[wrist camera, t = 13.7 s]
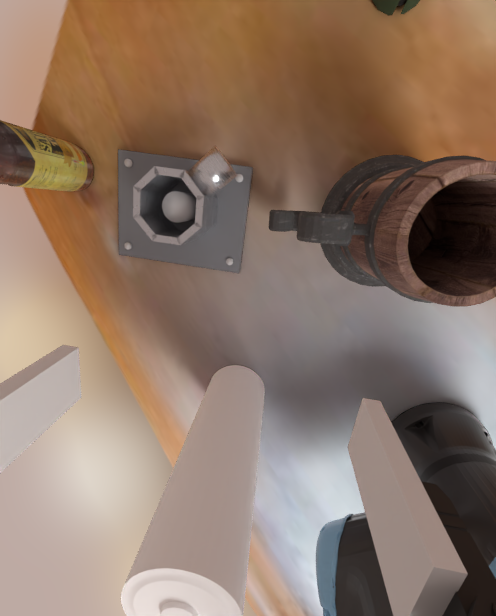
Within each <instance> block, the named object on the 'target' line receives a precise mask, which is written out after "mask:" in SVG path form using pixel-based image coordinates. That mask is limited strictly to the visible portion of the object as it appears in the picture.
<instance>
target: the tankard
mask: <svg viewBox="0 0 496 616" xmlns="http://www.w3.org/2000/svg"><path fill="white" fill-rule="evenodd" d="M269 229H270V230H271V231H284V232H285V231H291V230H293V231H297V239H298V240H300V241H305V242H313V243H321V247H322V249H323V252H324V254H325V257H326V258H327V260H328V261H329V263H330V264H331V266H332V267H333V268H334V269H335V270H336V271H337V272H338V273H339V274H341V275H342V276H344V277H345V278H347V279H349V280H350V281H353V282H356V283H358V284H361V285H367V286H387V287H388V288H390V289H391V290H393V291H395V292H396V293H398V294H400V295H401V296H404V297H406V298H409V299H412V300H414V301H420V302H426V303H437V304H442V305H448V306H471V305H476V304H481V303H483V302H485V301H488V300H490V299H492V298H494V297H496V161H486V160H484V159H481V158H477V157H470V156H450V157H444V158H440V159H436V160H432V161H428V162H423V161H420V160H417V159H415V158H412V157H409V156H402V155H386V156H380V157H376V158H372V159H369V160H367V161H365V162H363V163H361V164H359V165H357V166H355V167H354V168H352V169H351V170H350V171H348V172H347V173H346V174H344V175H343V177H342V178H341V179H340V180H339V181H338V182H337V183H336V184H335V185H334V187H333V188H332V190H331V191H330V193H329V194H328V196H327V198H326V201H325V203H324V205H323V208H322V212H321V213H319V212H306V211H286V210H271V211H270V218H269Z"/></svg>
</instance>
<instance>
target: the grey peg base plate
mask: <svg viewBox="0 0 496 616" xmlns="http://www.w3.org/2000/svg"><path fill="white" fill-rule="evenodd" d="M198 161H199V160H194V159H187V158H179V157H172V156H164V155H157V154H149V153H142V152H134V151H127V150H119V149H118V211H119V255H124V256H131V257H137V258H144V259H150V260H157V261H163V262H169V263H176V264H182V265H189V266H195V267H202V268H208V269H214V270H221V271H227V272H234V273H240V268H241V260H242V252H243V244H244V236H245V228H246V220H247V212H248V204H249V197H250V189H251V181H252V173H253V167H247V166H239V165H232V164H230V165H231V167H232V168H233V170H234V171H235V173H236V174H237V176H236V177H235V178H234V179H233V180H232V181H230V182H229V183H228V184H227V185H226V186H225V187H223V188H222V189H221V190H220V191H219V192H218V193H216V196H217V197H218V198H219V201H218V211H217V222H216V225H214V226H213V227H212V228H211V229H210V230H208V231H207V232H206V233H205V234H203V235H202V236H201V237H200V238H199V239H196V240H193V241H191V242H188V243H185V244H182V245H175V244H169V243H162V242H156V241H152V240H151V239H150V238H149V236H148V235H147V234H146V233H145V231H144V230H143V229H142V228H141V226H140V225H139V224H138V223H137V221H136V220H135V219H134V218H133V186H134V185H135V184H136V183H137V182H138V181H139V180H141V179H142V178H143V177H144V176H145V175H146V174H147V173H148V172H149V171H150V170H151V169H152V168H153V167H154V166H158V167H165V168H173V169H180V170H186V171H188V170H189V169H190V168H191V167H193V166H194V165H195V164H196V163H197V162H198ZM196 200H197V198H196V197H195V196H194V194H193V193H192V192H191V190H190V189H189V188H188V186H187V185H186V184H185V182H184V181H180V182H179V183H178V184H177V185H176V186H175V187H174V188H172V189H171V190H170V191H169V192H168V193H167V195H166V196H165V197H164V199H163V202H162V210H163V213H164V215H165V216H166V217H167V218H168V219H169V220H170V221H172V223H173V224H174V225H175V227H176V228H177V229H178V230H182V231H186V230H187V229H189V228H190V227H191V226H192V225H193V224H195V213H196Z"/></svg>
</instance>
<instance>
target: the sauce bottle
mask: <svg viewBox="0 0 496 616" xmlns="http://www.w3.org/2000/svg"><path fill="white" fill-rule="evenodd" d="M93 173H94V168H93V164H92V161H91V159H90V158H89V156H88V155H87V154H86V152H85V151H83V150H82V149H81V148H79V147H78V146H76V145H74V144H72V143H70V142H68V141H64V140H61V139H58V138H55V137H52V136H49V135H45V134H42V133H39V132H36V131H33V130H30V129H26V128H23V127H20V126H17V125H13V124H10V123H7V122H4V121H1V120H0V184H8V185H10V186H17V187H27V188H38V189H48V190H59V191H79V190H83V189H85V188H87V187H88V186H89V185H90V183H91V181H92V180H93Z"/></svg>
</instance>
